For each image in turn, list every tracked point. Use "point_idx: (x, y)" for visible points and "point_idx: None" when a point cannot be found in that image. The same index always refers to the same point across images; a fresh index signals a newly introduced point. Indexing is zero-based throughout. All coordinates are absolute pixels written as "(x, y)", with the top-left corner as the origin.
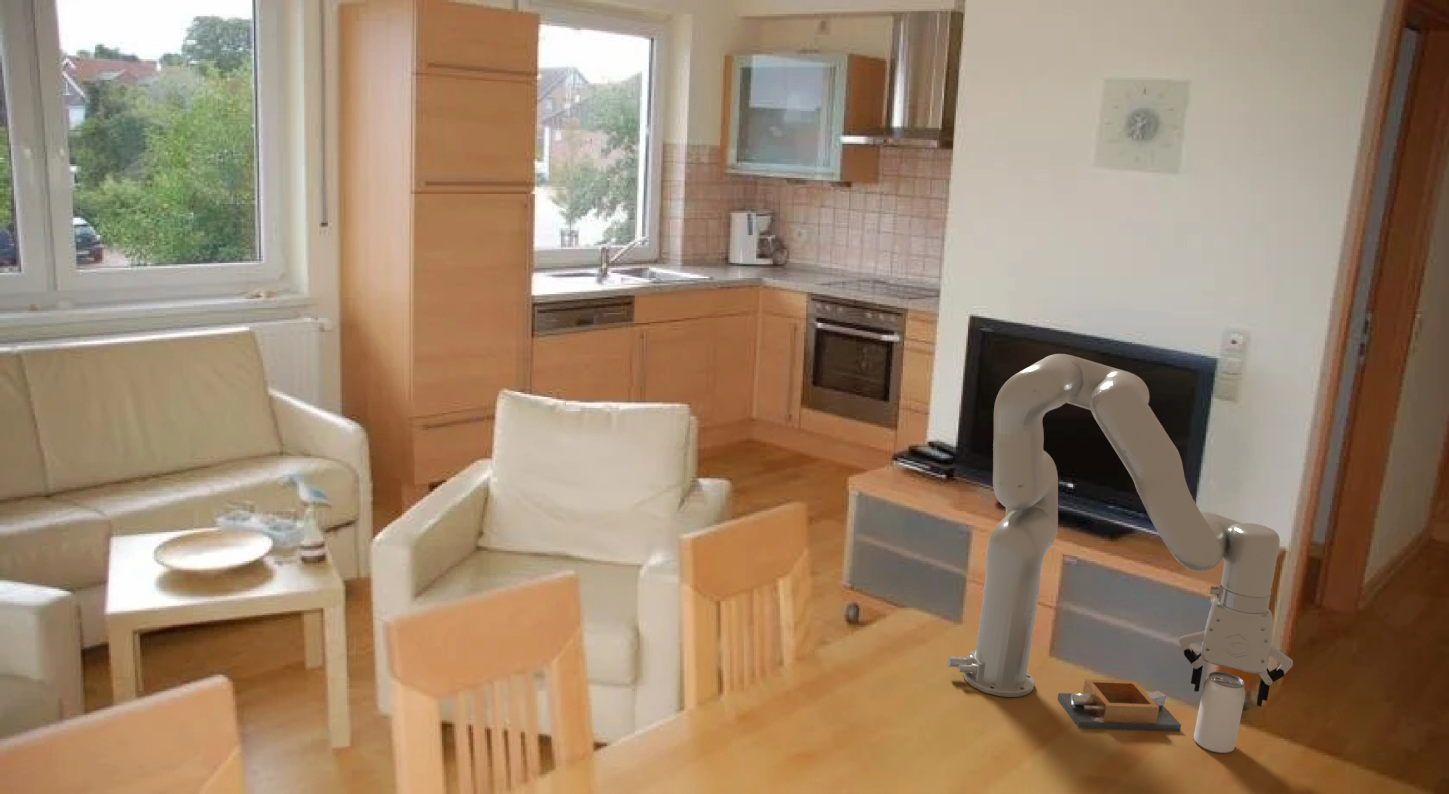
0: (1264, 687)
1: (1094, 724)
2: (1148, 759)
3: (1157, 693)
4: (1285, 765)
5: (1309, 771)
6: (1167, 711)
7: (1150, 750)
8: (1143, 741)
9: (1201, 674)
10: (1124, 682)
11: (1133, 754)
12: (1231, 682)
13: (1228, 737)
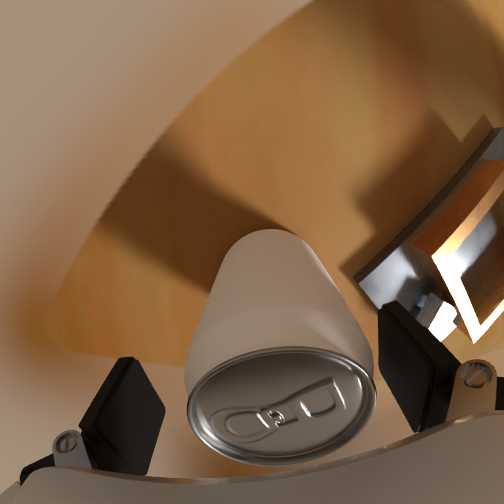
0: (83, 416)
1: (487, 144)
2: (367, 77)
3: None
4: (121, 300)
5: (88, 308)
6: None
7: (380, 123)
8: (405, 158)
9: (421, 359)
10: (492, 316)
11: (398, 80)
12: (255, 419)
13: (226, 260)
